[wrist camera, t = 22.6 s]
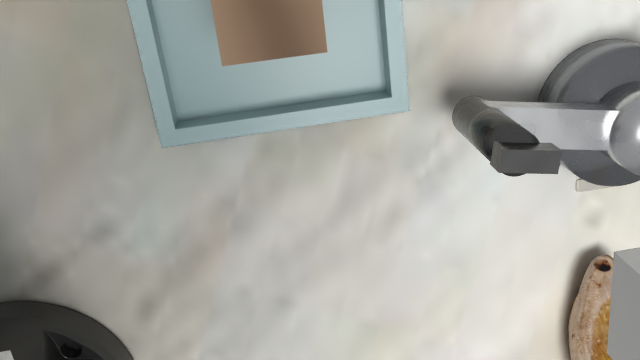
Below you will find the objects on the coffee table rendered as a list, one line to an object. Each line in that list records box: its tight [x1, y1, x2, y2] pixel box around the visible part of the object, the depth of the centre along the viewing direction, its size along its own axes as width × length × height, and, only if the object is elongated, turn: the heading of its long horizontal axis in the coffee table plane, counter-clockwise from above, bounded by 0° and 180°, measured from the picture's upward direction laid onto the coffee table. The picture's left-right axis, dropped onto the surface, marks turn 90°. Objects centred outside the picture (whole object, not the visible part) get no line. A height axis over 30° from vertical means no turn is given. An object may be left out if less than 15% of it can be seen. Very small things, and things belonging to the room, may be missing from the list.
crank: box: [452, 81, 640, 176], centre depth 34 cm, size 14×5×8 cm, turn 86°
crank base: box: [538, 39, 640, 192], centre depth 40 cm, size 10×9×3 cm
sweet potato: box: [568, 255, 614, 360], centre depth 46 cm, size 5×14×4 cm, turn 10°
